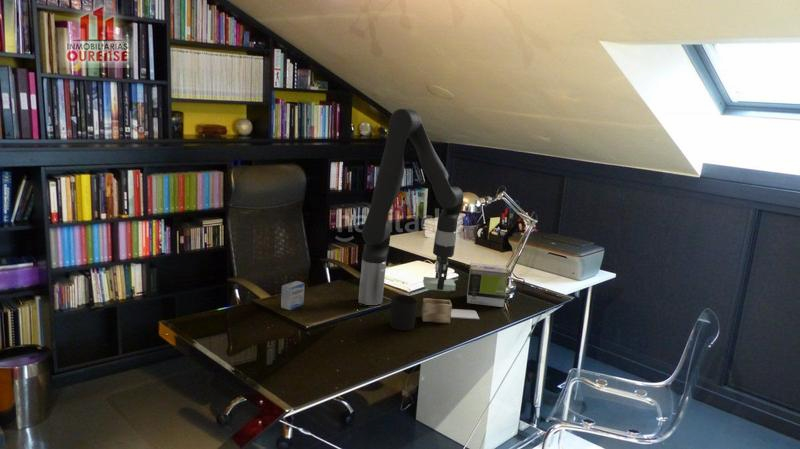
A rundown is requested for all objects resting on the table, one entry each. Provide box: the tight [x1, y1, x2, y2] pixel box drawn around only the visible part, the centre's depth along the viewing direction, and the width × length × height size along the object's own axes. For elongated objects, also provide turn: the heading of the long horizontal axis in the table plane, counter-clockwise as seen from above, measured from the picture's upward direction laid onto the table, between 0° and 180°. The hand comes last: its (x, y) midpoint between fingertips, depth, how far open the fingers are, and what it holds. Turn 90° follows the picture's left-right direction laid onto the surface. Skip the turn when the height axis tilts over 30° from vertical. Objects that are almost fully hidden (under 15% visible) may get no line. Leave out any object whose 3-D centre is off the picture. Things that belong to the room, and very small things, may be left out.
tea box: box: [466, 262, 509, 308], centre depth 245 cm, size 15×10×15 cm
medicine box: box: [280, 280, 306, 311], centre depth 221 cm, size 8×4×9 cm, turn 150°
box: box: [421, 298, 453, 324], centre depth 222 cm, size 10×5×7 cm, turn 94°
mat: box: [451, 308, 480, 320], centre depth 230 cm, size 12×8×1 cm, turn 94°
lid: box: [422, 276, 457, 292], centre depth 220 cm, size 11×6×3 cm, turn 94°
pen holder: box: [389, 294, 419, 332], centre depth 213 cm, size 9×9×10 cm
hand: (438, 286), depth 220 cm, fingers closed on lid, 6 cm apart
